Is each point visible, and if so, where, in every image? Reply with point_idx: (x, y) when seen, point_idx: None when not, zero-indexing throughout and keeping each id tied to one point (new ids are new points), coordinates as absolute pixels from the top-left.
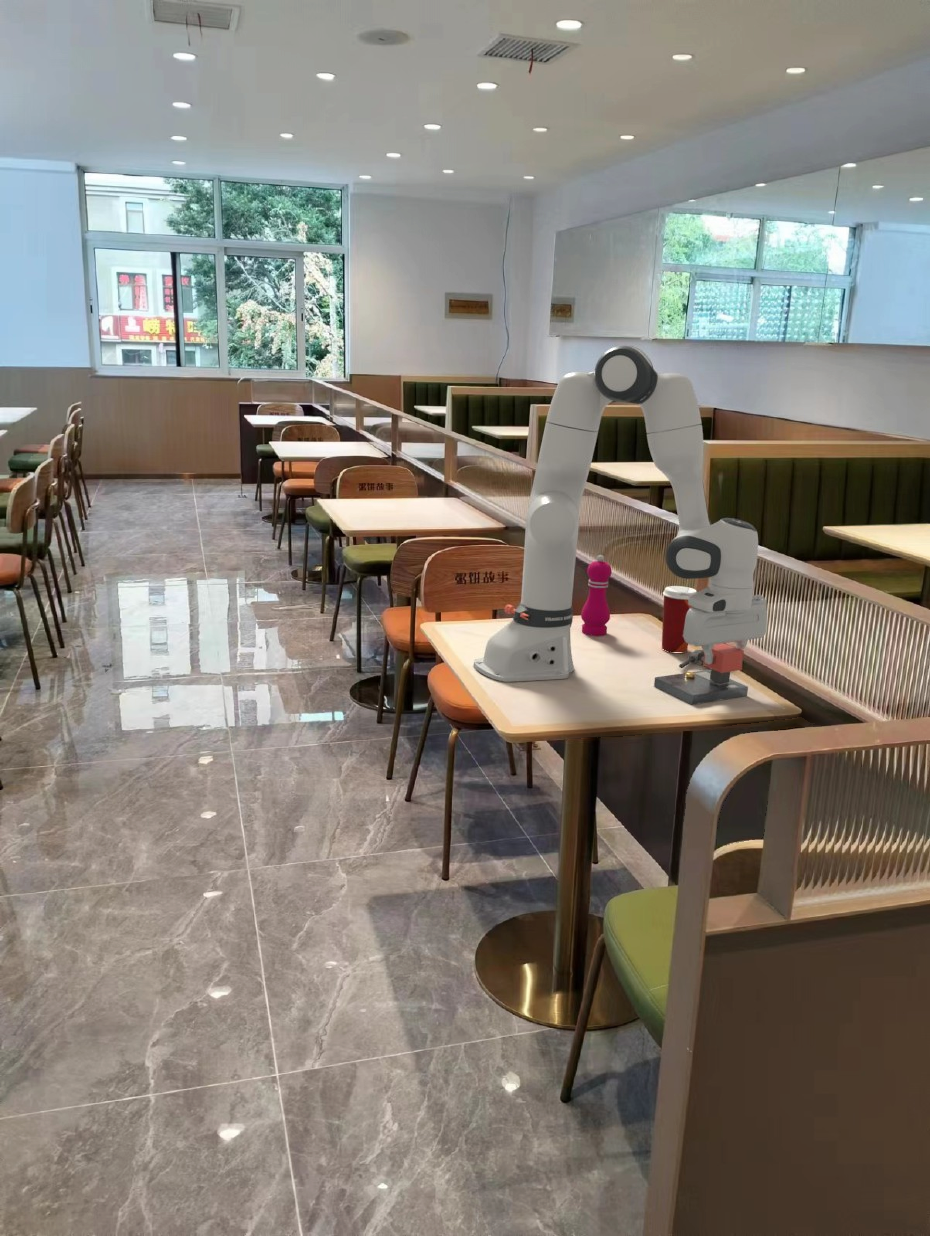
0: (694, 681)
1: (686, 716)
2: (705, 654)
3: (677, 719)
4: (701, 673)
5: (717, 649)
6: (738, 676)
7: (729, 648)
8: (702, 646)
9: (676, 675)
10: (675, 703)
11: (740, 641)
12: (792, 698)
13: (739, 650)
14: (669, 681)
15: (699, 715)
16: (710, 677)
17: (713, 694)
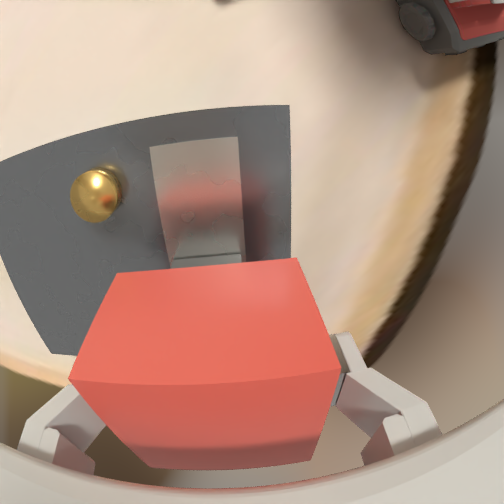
0: (92, 253)
1: (39, 369)
2: (70, 390)
3: (23, 370)
4: (190, 159)
5: (146, 439)
6: (424, 142)
7: (255, 445)
8: (29, 429)
9: (48, 159)
10: (24, 311)
11: (371, 460)
12: (383, 351)
13: (289, 460)
14: (4, 230)
15: (65, 376)
16: (171, 268)
17: None
